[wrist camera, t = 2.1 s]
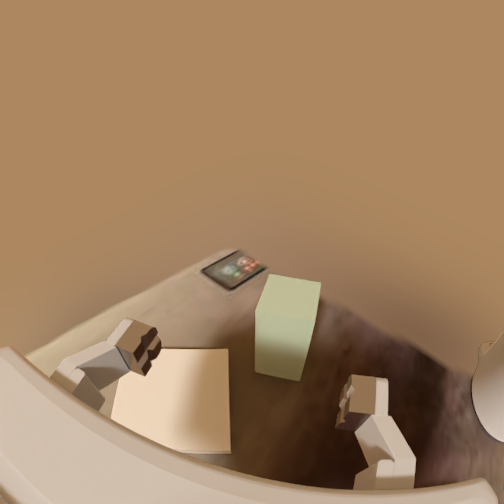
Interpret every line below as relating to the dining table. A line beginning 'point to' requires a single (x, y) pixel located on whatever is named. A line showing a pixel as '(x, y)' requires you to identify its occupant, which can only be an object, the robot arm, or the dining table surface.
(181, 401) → the cream tile
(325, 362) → the dining table surface
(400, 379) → the dining table surface
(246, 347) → the dining table surface
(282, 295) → the green block
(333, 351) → the dining table surface
